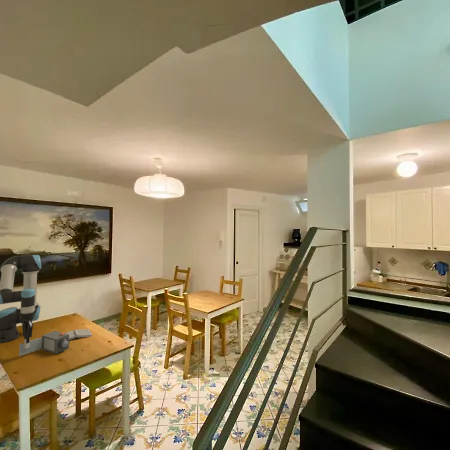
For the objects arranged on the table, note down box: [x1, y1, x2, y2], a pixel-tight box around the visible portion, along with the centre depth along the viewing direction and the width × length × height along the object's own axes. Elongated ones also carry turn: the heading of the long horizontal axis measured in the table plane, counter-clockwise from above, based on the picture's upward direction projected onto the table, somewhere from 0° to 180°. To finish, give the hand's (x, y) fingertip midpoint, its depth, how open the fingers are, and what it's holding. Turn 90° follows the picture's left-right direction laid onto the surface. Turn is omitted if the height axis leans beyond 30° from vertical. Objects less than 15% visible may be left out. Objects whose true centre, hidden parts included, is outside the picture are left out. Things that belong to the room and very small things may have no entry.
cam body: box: [41, 330, 70, 355], centre depth 177 cm, size 19×9×11 cm, turn 66°
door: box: [18, 336, 43, 357], centre depth 170 cm, size 13×2×8 cm, turn 147°
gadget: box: [64, 328, 93, 341], centre depth 199 cm, size 23×15×4 cm, turn 128°
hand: (27, 347), depth 167 cm, fingers closed
